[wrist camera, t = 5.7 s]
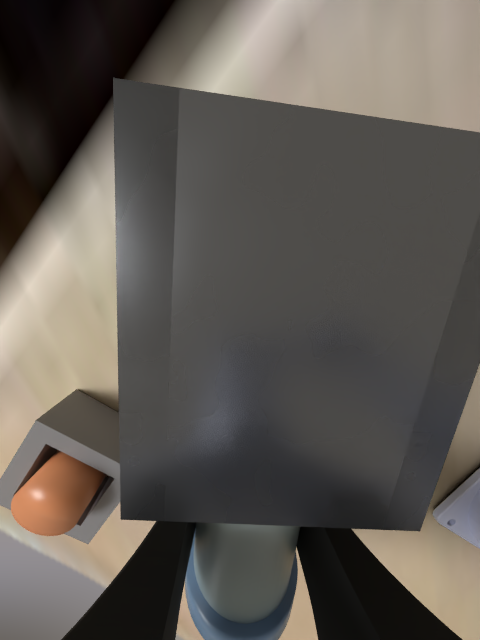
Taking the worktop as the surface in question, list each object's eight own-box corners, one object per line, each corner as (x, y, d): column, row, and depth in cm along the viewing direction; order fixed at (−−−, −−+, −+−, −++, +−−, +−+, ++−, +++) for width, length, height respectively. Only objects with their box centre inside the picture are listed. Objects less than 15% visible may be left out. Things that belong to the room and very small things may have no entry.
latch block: (158, 434, 12) (140, 474, 10) (114, 494, 13) (88, 544, 10) (76, 389, 11) (36, 420, 9) (35, 455, 12) (-13, 499, 10)
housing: (190, 203, 10) (113, 78, 3) (354, 223, 10) (558, 143, 4) (181, 383, 11) (121, 519, 5) (320, 394, 12) (419, 531, 6)
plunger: (126, 444, 12) (91, 503, 9) (102, 478, 12) (61, 544, 9) (81, 420, 11) (28, 473, 8) (58, 456, 12) (-1, 518, 9)
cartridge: (215, 231, 10) (198, 190, 5) (328, 244, 10) (423, 218, 5) (194, 510, 13) (172, 658, 8) (280, 513, 13) (309, 659, 8)
